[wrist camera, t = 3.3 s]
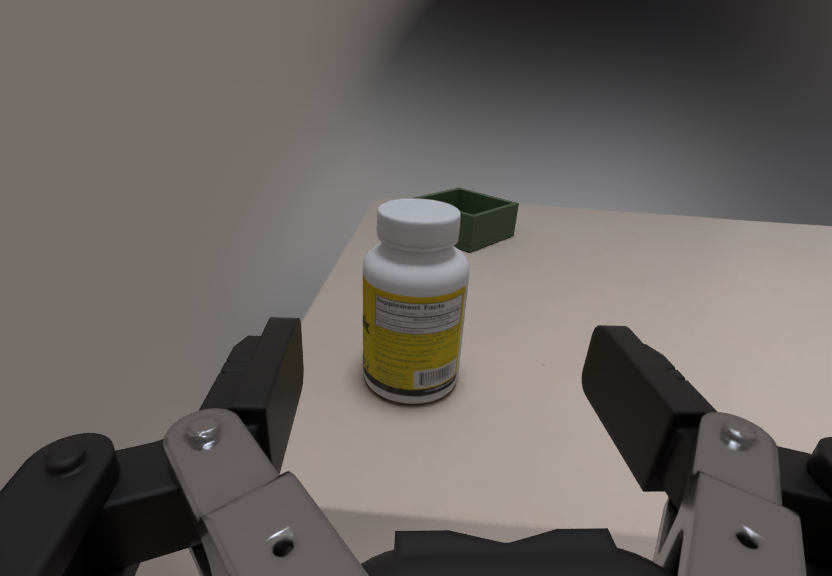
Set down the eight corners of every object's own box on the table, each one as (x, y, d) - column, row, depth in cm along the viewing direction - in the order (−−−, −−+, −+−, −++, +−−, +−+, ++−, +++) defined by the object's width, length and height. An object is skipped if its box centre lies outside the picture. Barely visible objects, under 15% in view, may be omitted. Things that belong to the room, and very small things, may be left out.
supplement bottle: (382, 341, 29) (387, 189, 25) (466, 360, 28) (486, 202, 23) (345, 392, 24) (343, 215, 20) (443, 419, 23) (464, 234, 19)
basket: (469, 252, 44) (474, 216, 42) (409, 230, 49) (411, 197, 47) (513, 235, 49) (519, 203, 48) (455, 217, 54) (459, 187, 53)
